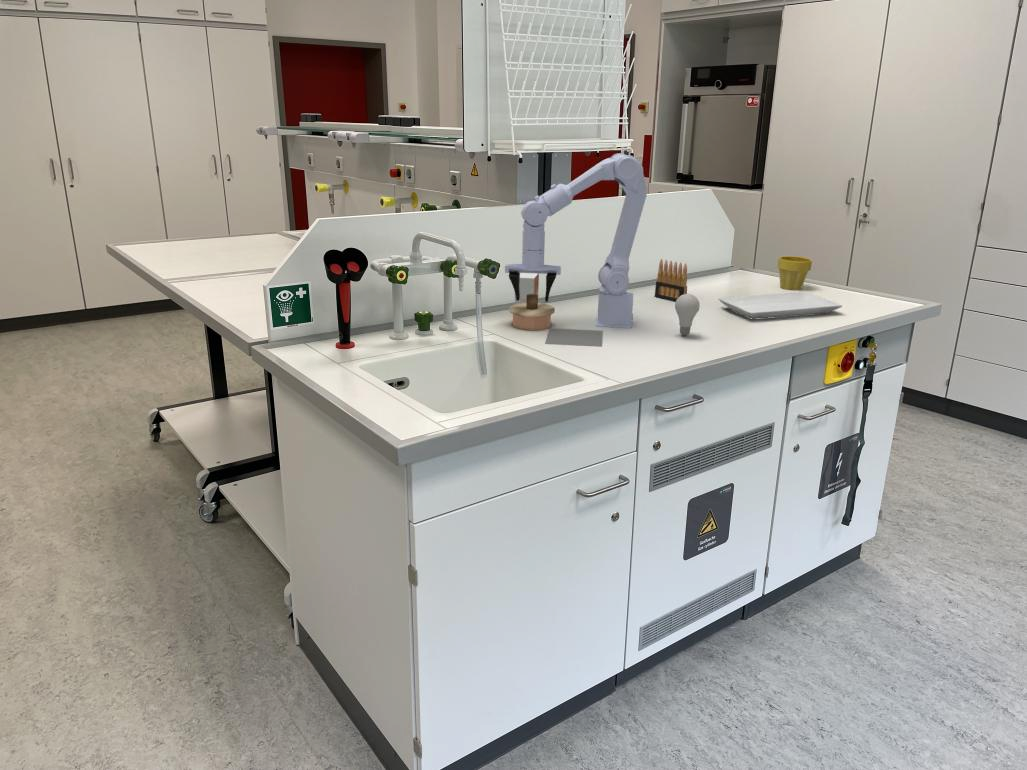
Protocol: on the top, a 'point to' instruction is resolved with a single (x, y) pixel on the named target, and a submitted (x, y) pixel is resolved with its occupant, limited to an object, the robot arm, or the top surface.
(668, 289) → the ammunition clip
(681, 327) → the lightbulb
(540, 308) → the lid
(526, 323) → the bowl
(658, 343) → the top surface
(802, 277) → the plant pot
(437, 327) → the top surface
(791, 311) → the tray
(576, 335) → the mat
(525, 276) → the small box
